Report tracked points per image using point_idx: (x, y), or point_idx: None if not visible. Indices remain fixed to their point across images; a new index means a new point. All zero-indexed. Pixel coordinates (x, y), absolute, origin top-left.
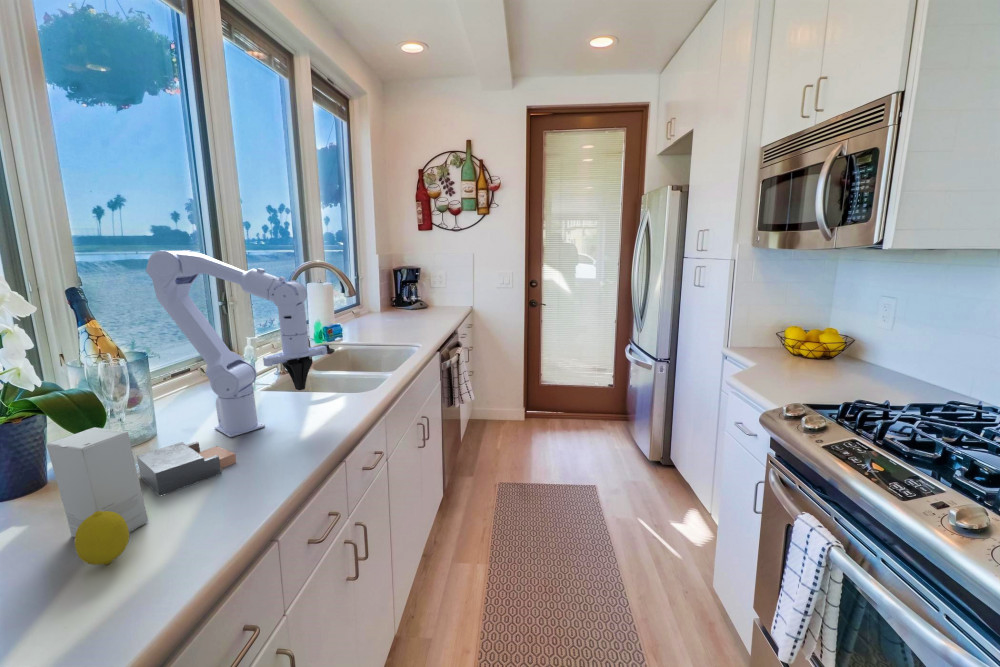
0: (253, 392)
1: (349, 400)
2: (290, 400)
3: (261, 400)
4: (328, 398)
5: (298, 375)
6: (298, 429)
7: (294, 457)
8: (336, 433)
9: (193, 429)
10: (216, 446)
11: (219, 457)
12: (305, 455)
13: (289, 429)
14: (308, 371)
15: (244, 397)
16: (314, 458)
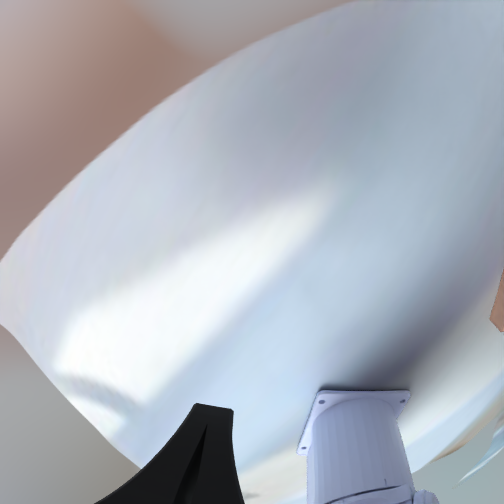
0: (331, 499)
1: (52, 338)
2: None
3: None
4: (89, 394)
5: (221, 500)
6: (277, 291)
7: (436, 87)
8: (218, 119)
9: None
10: (502, 330)
11: None
12: (409, 63)
13: (294, 318)
14: (122, 487)
15: (380, 484)
16: (402, 21)
